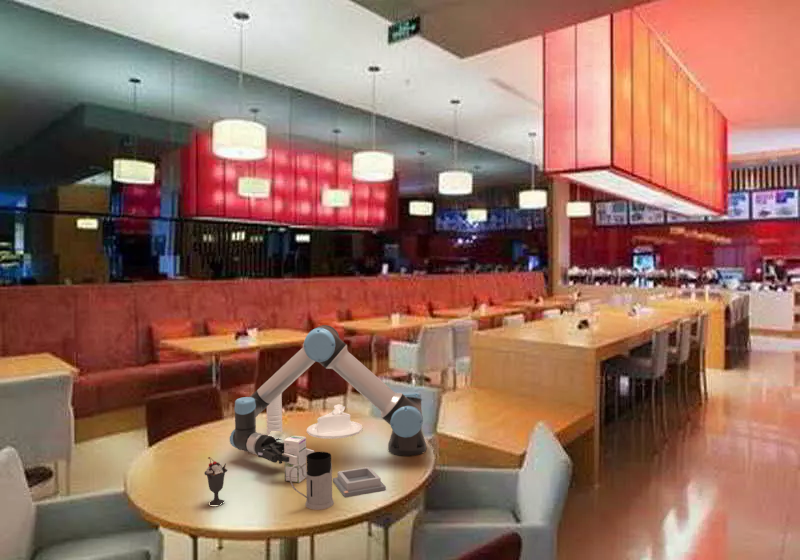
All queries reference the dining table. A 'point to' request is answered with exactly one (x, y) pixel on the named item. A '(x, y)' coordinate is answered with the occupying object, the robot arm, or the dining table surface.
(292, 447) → the syrup box
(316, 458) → the glass holder
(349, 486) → the box holder
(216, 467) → the sundae
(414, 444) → the robot arm
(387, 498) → the dining table surface
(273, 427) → the water bottle
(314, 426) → the dish
